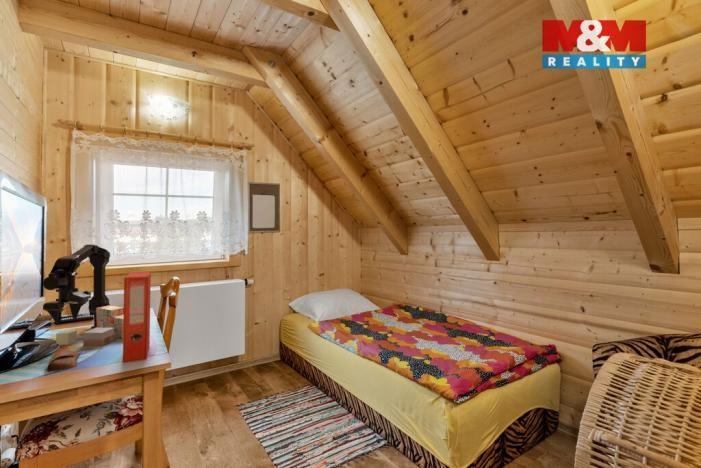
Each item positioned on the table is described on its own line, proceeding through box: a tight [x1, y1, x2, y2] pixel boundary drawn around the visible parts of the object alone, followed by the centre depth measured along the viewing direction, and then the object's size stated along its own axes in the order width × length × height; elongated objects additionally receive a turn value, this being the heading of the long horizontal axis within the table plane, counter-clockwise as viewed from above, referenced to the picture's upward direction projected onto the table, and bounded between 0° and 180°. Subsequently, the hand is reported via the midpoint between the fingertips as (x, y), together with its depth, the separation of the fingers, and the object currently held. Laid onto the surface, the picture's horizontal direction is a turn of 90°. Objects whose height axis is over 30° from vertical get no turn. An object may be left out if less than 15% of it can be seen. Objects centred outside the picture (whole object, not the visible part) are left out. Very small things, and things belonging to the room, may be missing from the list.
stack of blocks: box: [96, 305, 124, 339], centre depth 168 cm, size 21×6×12 cm, turn 62°
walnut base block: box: [82, 335, 115, 347], centre depth 154 cm, size 8×8×3 cm
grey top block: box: [82, 328, 114, 340], centre depth 154 cm, size 8×8×3 cm
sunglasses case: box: [46, 348, 82, 373], centre depth 131 cm, size 18×7×7 cm
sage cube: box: [55, 329, 78, 346], centre depth 153 cm, size 5×5×5 cm
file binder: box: [122, 271, 152, 363], centre depth 140 cm, size 8×17×32 cm, turn 27°
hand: (66, 321), depth 153 cm, fingers open, 9 cm apart
